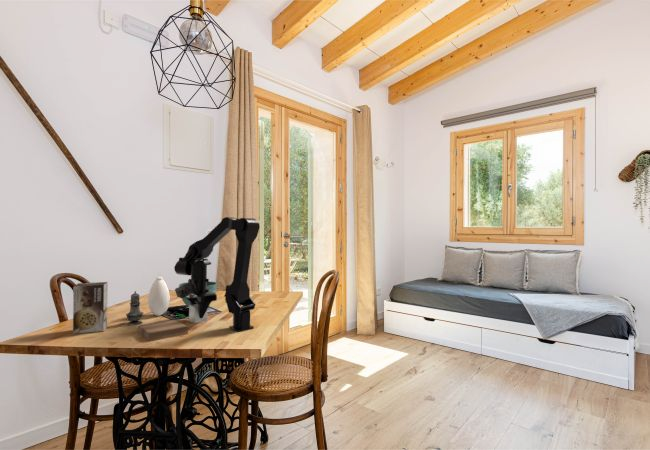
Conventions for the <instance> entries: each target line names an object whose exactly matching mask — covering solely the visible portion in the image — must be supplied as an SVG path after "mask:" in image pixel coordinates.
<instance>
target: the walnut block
mask: <svg viewBox="0 0 650 450" xmlns="http://www.w3.org/2000/svg"><path fill="white" fill-rule="evenodd" d="M188 328H189V326H188V325H186V324H184V323H182V322H180V321H177V320H176V319H170V320H164V321H158V322H152V323H146V324H145V323H144V324H138V325H137V334H138V335H140V336H142V337H143V338H144V339H146V340H147V341H149V342H153V341H154V342H155V341H157V340H158V341H159V340H163V339H164V340H165V339H169V338H174V337H179V336H183V335H188V330H189V329H188Z"/></svg>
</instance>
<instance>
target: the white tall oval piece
mask: <svg viewBox="0 0 650 450" xmlns="http://www.w3.org/2000/svg"><path fill="white" fill-rule="evenodd" d="M170 297H171V296H170V291H169V288H168V285H167V283H166V282H165V280H164V278H163V277H162V276H161V271H160V270H159V271H158V276H157V277H155V280H154V281H153V283H152V284H151V286H150V289H149V292H148V297H147V305H148V308H149V310H150V312H151V313H152V314H153V315H154V316H156V317H157V316H159V317H160V316H162V315H164V313H166V312H167V310H168V309H169V306H170V299H171V298H170Z"/></svg>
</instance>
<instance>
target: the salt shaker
mask: <svg viewBox="0 0 650 450" xmlns="http://www.w3.org/2000/svg"><path fill="white" fill-rule="evenodd" d="M129 305H130V307H129V308H130V309H129V312H128V313H126V314H125V316H126V319H127V320H128V322H126V325H127V326H138V325H143V321H142V320H141V319H142V318H143V315H144V312H143V311H141V310H140V305H141V302H140V294H139V293H137V290H135V291H134V293H132V294H131V295H130V303H129Z"/></svg>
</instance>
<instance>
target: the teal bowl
mask: <svg viewBox="0 0 650 450" xmlns="http://www.w3.org/2000/svg"><path fill="white" fill-rule="evenodd" d="M187 283H188V281H187V282H181V283H179V284H178V287H180V286H182V285H185V284H187ZM217 287H218V283H217V282H215V281H209V282H207V286H206V289H208V292H213V293H215V294H216V293H217ZM216 295H217V294H216ZM185 297H187V296H185ZM185 297H184V298H181V299H182V302H183V303H184V304H185V305H186V307H187V306H189V305H190V302H189V301H188V300H187V299H185Z"/></svg>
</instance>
